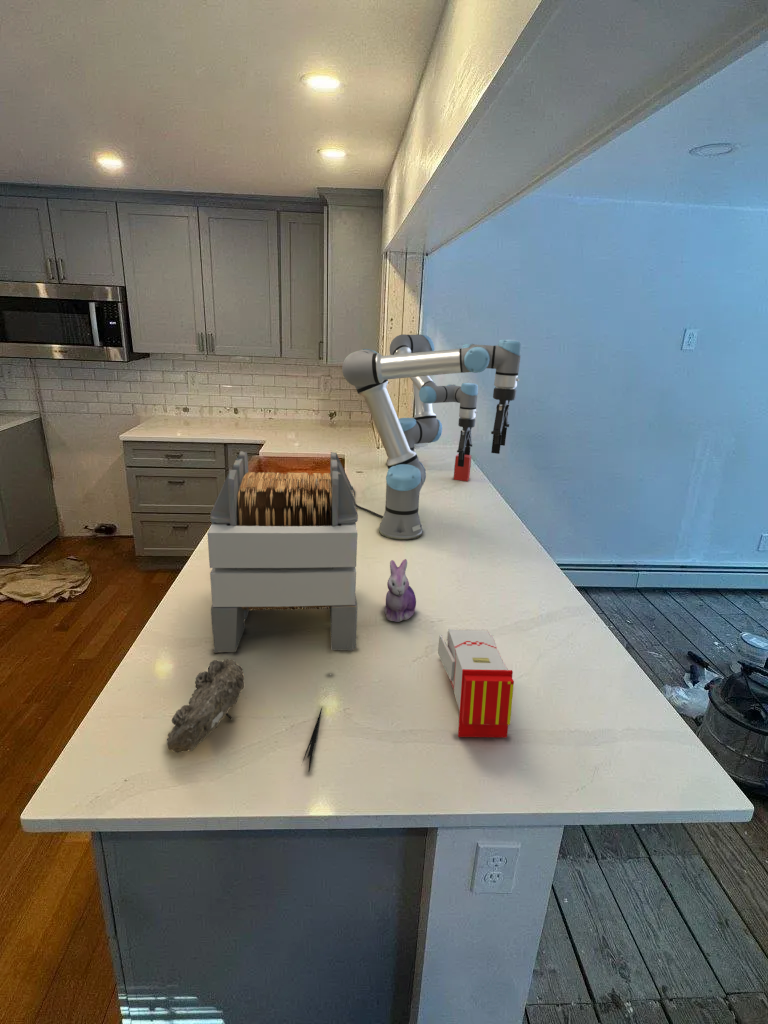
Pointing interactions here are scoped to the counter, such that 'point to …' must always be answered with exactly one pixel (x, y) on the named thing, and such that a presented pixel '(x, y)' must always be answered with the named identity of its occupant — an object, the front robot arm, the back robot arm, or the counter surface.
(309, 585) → the grey record crate stand
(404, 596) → the figurine
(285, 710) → the counter surface
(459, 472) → the brick
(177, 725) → the fossil
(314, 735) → the feather
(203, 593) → the counter surface
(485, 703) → the toy
